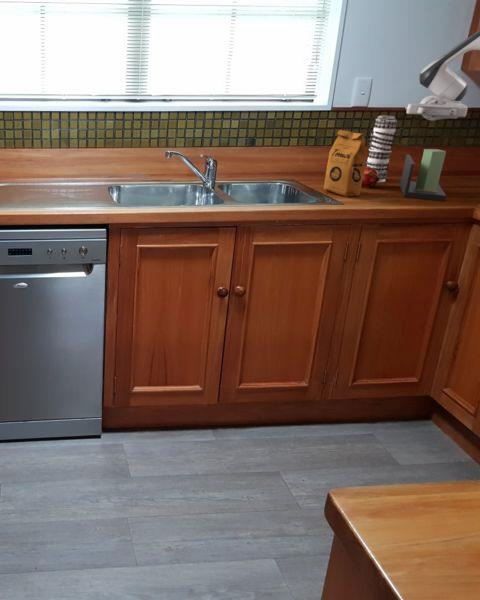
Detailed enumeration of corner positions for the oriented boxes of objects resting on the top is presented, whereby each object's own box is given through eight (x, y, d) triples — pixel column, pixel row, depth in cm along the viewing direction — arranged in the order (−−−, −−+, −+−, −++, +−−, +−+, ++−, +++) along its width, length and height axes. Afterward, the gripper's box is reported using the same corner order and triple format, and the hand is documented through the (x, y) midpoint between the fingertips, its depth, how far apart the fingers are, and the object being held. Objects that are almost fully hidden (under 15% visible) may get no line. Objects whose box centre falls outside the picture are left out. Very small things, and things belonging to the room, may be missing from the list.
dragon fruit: (350, 186, 242) (374, 197, 232) (341, 175, 236) (365, 186, 227) (365, 168, 240) (389, 179, 231) (356, 157, 235) (381, 167, 226)
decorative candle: (391, 182, 243) (405, 117, 233) (370, 182, 242) (383, 117, 232) (377, 177, 251) (390, 114, 242) (357, 177, 250) (369, 114, 240)
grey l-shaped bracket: (437, 188, 233) (445, 157, 228) (444, 201, 214) (453, 166, 209) (399, 185, 237) (406, 154, 233) (403, 197, 219) (411, 163, 214)
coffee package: (342, 198, 215) (354, 134, 207) (318, 190, 226) (329, 129, 218) (364, 196, 219) (377, 133, 210) (339, 189, 229) (351, 129, 221)
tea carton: (428, 187, 225) (437, 149, 219) (436, 190, 220) (446, 151, 215) (415, 187, 224) (424, 149, 219) (423, 190, 220) (432, 151, 214)
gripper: (406, 98, 240) (409, 101, 228) (465, 101, 233) (471, 104, 221) (402, 115, 242) (405, 118, 230) (461, 118, 235) (467, 122, 223)
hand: (438, 111), depth 226 cm, fingers open, 8 cm apart
